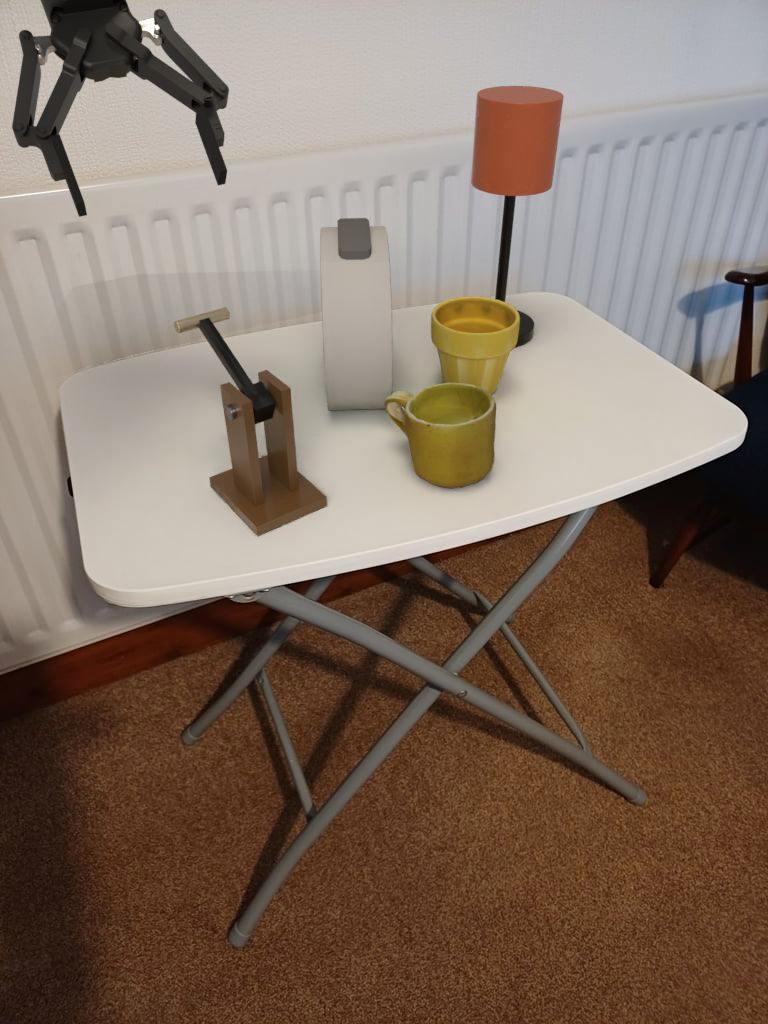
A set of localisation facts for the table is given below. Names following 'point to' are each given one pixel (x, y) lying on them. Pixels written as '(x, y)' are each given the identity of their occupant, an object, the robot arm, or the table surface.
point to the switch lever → (230, 361)
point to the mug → (447, 431)
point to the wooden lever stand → (264, 462)
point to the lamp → (515, 159)
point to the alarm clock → (356, 314)
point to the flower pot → (474, 339)
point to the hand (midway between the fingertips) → (154, 194)
